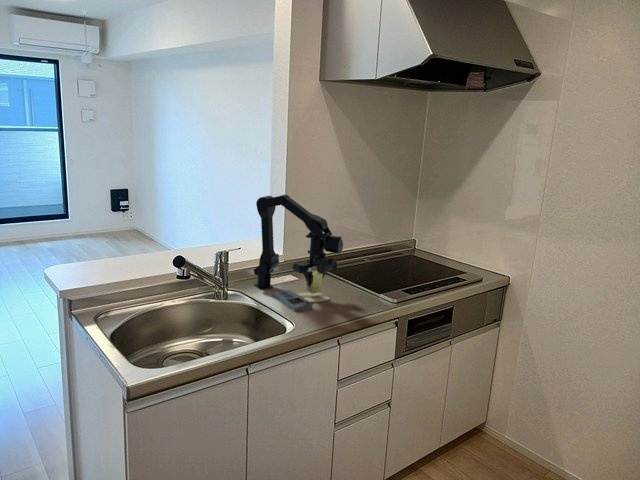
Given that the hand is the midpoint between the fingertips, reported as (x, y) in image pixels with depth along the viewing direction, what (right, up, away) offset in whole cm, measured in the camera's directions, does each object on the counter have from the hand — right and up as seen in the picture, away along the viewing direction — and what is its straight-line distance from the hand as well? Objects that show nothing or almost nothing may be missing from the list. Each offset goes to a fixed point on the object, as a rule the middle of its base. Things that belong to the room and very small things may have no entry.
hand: (314, 285), depth 204 cm
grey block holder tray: (-9, -6, -6) cm, 12 cm away
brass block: (0, -2, +1) cm, 3 cm away
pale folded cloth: (0, -5, +1) cm, 5 cm away
